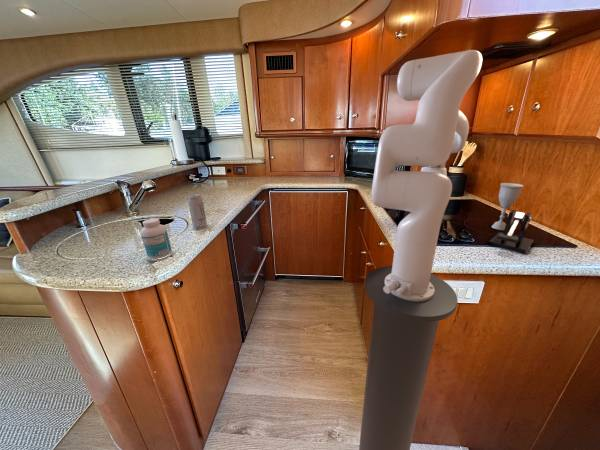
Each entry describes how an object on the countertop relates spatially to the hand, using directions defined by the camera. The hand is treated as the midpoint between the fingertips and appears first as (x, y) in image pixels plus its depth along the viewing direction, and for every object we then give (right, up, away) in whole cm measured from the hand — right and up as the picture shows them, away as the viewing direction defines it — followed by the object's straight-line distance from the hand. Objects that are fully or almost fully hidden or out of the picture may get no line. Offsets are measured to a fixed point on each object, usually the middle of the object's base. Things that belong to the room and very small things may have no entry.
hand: (427, 207), depth 104 cm
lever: (+16, -9, -24) cm, 30 cm away
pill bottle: (-104, -19, -21) cm, 108 cm away
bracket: (+19, -15, -20) cm, 31 cm away
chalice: (+27, -9, -5) cm, 29 cm away
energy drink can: (-102, -9, +6) cm, 103 cm away
